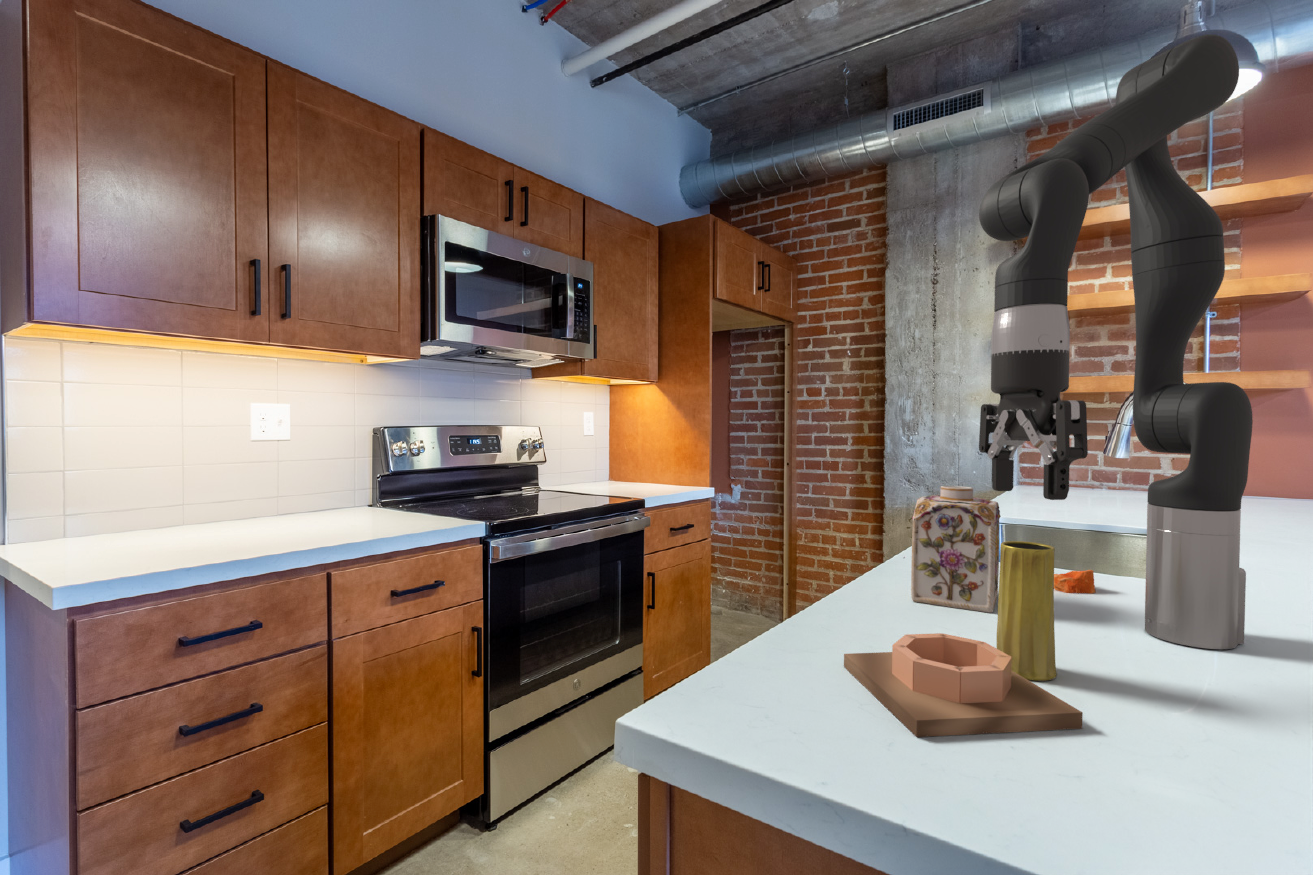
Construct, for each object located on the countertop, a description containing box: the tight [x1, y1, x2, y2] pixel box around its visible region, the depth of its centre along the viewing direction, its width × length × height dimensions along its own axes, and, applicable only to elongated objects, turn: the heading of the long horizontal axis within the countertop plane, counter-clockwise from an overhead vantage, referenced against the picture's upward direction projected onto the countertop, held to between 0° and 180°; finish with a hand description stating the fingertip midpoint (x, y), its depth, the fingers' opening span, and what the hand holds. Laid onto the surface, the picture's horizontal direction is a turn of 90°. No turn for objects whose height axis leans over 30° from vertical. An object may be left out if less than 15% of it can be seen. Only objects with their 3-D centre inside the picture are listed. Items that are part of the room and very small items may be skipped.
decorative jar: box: [910, 485, 1001, 614], centre depth 99 cm, size 12×12×18 cm
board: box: [843, 651, 1083, 738], centre depth 64 cm, size 16×16×2 cm
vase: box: [996, 540, 1058, 682], centre depth 70 cm, size 6×6×14 cm
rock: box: [1054, 569, 1096, 595], centre depth 105 cm, size 12×12×4 cm
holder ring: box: [891, 632, 1012, 703], centre depth 64 cm, size 10×10×3 cm
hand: (1027, 494), depth 70 cm, fingers open, 8 cm apart
